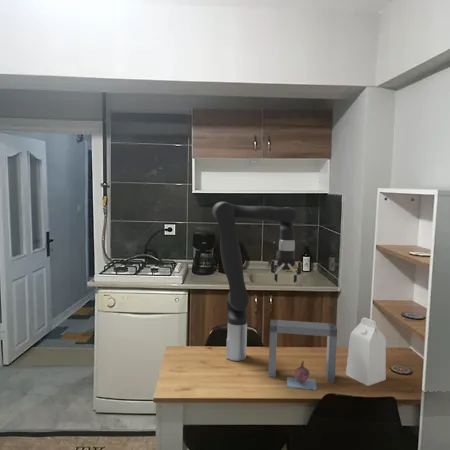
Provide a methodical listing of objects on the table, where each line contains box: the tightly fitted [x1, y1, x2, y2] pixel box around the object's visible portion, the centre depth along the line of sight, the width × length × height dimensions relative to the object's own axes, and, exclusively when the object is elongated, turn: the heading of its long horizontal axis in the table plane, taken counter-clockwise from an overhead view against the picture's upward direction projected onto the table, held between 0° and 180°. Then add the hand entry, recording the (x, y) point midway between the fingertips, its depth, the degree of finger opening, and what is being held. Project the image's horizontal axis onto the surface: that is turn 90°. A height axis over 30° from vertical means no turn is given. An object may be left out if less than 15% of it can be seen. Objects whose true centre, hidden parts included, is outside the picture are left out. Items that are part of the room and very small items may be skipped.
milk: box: [345, 317, 387, 387], centre depth 183 cm, size 12×12×26 cm
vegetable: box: [294, 359, 310, 383], centre depth 176 cm, size 6×6×10 cm
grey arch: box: [267, 319, 338, 384], centre depth 184 cm, size 28×8×23 cm, turn 82°
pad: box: [286, 376, 318, 391], centre depth 177 cm, size 12×8×1 cm, turn 82°
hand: (285, 282), depth 204 cm, fingers open, 8 cm apart
